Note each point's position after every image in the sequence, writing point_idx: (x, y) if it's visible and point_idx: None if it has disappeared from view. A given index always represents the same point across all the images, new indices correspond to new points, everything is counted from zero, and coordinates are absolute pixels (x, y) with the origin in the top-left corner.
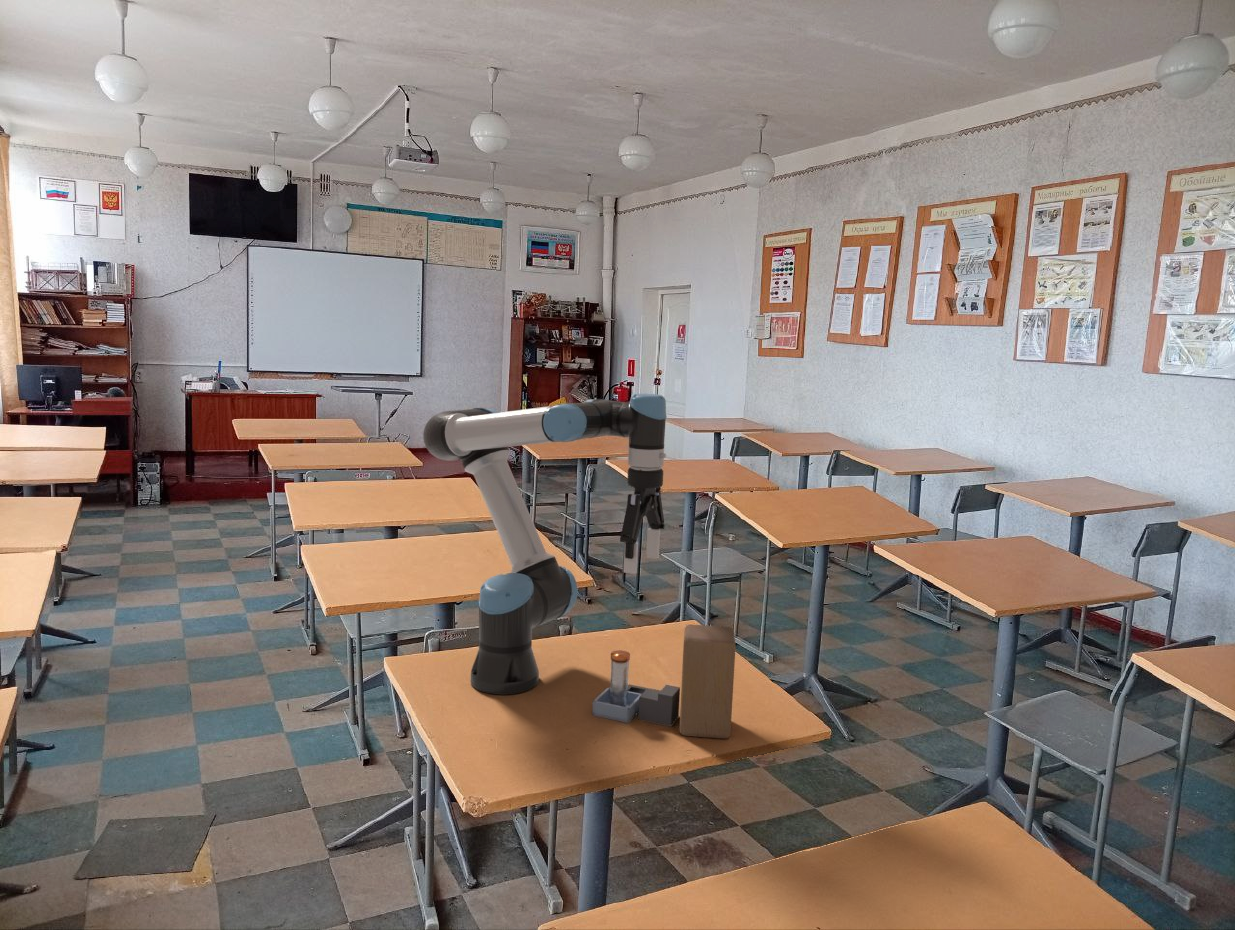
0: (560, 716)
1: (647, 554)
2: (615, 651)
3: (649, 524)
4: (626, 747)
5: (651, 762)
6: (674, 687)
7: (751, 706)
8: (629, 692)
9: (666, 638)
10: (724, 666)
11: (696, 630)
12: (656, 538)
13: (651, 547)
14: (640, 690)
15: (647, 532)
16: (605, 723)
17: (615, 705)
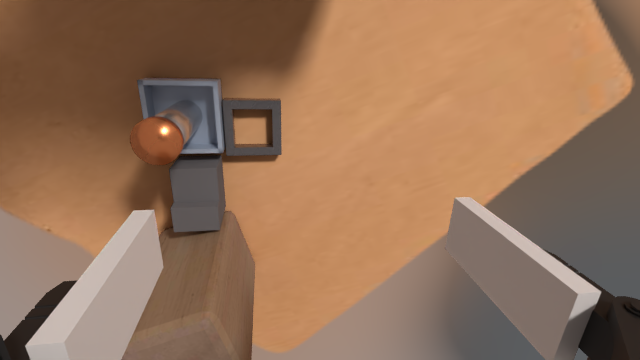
0: (103, 20)
1: (462, 209)
2: (164, 125)
3: (615, 330)
4: (74, 175)
5: (56, 223)
6: (213, 222)
7: (311, 277)
8: (216, 128)
9: (544, 75)
10: None
11: (170, 354)
12: (513, 307)
13: (481, 247)
14: (272, 126)
15: (554, 276)
16: (131, 112)
17: None
